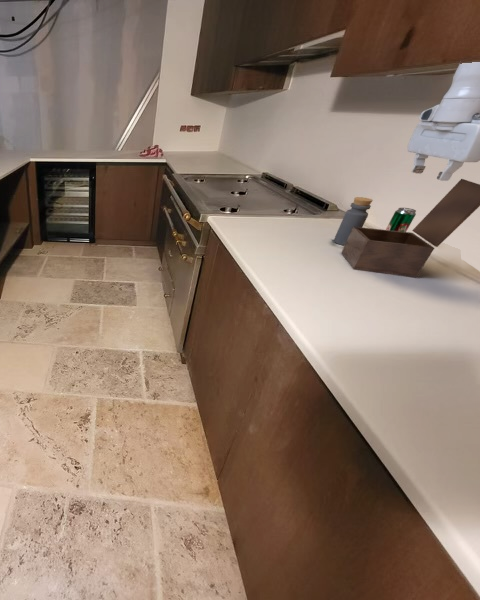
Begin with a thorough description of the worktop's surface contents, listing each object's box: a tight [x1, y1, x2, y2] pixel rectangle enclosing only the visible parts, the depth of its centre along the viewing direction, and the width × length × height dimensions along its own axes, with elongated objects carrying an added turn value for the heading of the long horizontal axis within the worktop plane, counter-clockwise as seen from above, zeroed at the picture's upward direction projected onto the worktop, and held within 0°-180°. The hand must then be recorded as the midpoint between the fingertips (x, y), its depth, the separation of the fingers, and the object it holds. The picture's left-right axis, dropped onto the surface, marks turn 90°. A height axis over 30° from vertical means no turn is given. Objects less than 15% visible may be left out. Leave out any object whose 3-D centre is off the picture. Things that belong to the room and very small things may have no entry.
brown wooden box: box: [341, 227, 435, 279], centre depth 94 cm, size 15×13×9 cm
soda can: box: [385, 207, 417, 232], centre depth 106 cm, size 5×5×12 cm
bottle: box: [333, 196, 374, 246], centre depth 107 cm, size 6×6×15 cm
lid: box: [411, 178, 480, 248], centre depth 84 cm, size 15×13×1 cm
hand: (428, 176), depth 81 cm, fingers open, 8 cm apart
